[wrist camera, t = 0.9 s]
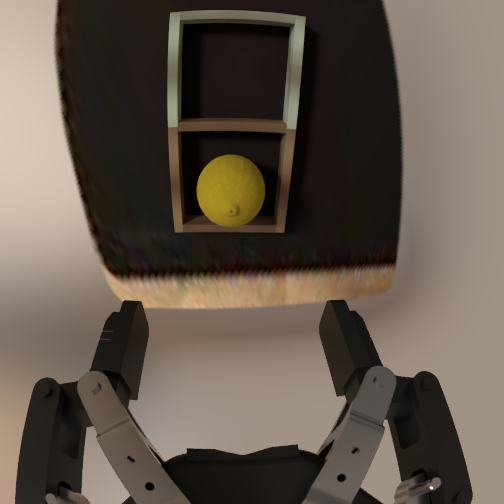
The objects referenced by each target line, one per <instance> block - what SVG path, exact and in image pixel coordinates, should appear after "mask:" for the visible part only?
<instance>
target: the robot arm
mask: <svg viewBox="0 0 504 504" xmlns="http://www.w3.org/2000/svg"><path fill="white" fill-rule="evenodd" d="M319 334H320V338H321V342H322V345H323V349H324V352H325V355H326V359H327V363H328V366H329V370H330V373H331V377H332V380H333V384H334V388H335V392H336V395H337V397H338V396H343V395H345V397H346V403H345V404H344V406H343V409H342V410H341V412H340V414H339V417H338V418H337V420H336V422H335V424H334V426H333V428H332V430H331V432H330V434H329V435H328V437H327V438H326V440H325V441H324V443H323V444H322V446H321V447H320V449H319V451H318V452H317V454H314V453H311V452H309V451H304V450H299V449H298V444H297V445H288V446H279V447H270V448H267V449H264V450H260V451H257V452H254V453H250V454H247V455H238V454H234V453H228V452H224V451H220V450H215V449H190V448H187V453H186V454H182V455H178V456H175V457H173V458H171V459H169V460H167V461H164V460H163V458H162V457H161V456H160V454H159V453H158V452H157V450H156V449H155V448H154V446H153V445H152V444H151V442H150V441H149V440H148V438H147V437H146V435H145V434H144V432H143V431H142V429H141V428H140V426H139V425H138V423H137V422H136V420H135V418H134V417H133V415H132V414H131V412H130V410H129V409H128V405H129V399H130V400H137V399H138V392H139V386H140V380H141V374H142V367H143V363H144V356H145V352H146V347H147V342H148V337H149V327H148V322H147V319H146V315H145V312H144V308H143V305H142V302H141V301H128V300H124V301H123V303H122V306H121V309H120V312H113V313H112V314H111V315H110V316H109V318H108V319H107V320H106V322H105V325H104V328H103V332H102V334H101V337H100V340H99V343H98V346H97V349H96V353H95V356H94V359H93V362H92V366H91V369H90V371H89V372H87V373H85V374H84V375H83V376H82V377H81V378H80V379H79V381H76V382H72V383H64V384H58V383H57V382H56V380H54V379H52V378H43V379H41V380H39V381H38V382H37V383H36V384H35V386H34V388H33V392H32V396H31V399H30V403H29V408H28V412H27V417H26V421H25V426H24V431H23V436H22V442H21V448H20V455H19V462H18V470H17V481H16V495H15V504H90V502H89V501H88V499H87V498H86V497H85V496H83V495H82V494H81V488H82V468H83V456H84V445H85V436H86V428H87V427H91V426H94V428H95V430H96V432H97V436H96V437H97V441H98V443H99V445H100V446H101V448H102V450H103V452H104V454H105V456H106V457H107V459H108V461H109V463H110V464H111V466H112V468H113V469H114V471H115V472H116V474H117V476H118V477H119V479H120V480H121V482H122V483H123V485H124V486H125V488H126V489H127V490H128V492H129V494H130V495H131V496H130V497H129V498H128V499H126V500H125V501H124V502H123V503H122V504H383V503H381V502H380V501H378V500H377V499H376V498H374V497H373V496H372V495H370V494H369V493H367V492H366V491H364V490H363V489H362V488H361V487H360V486H361V484H362V482H363V480H364V478H365V476H366V474H367V472H368V469H369V467H370V465H371V463H372V461H373V459H374V456H375V454H376V451H377V449H378V447H379V444H380V442H381V439H382V437H383V434H384V431H385V427H384V426H383V422H384V419H387V420H388V423H389V427H390V431H391V435H392V439H393V443H394V448H395V452H396V457H397V461H398V465H399V471H400V476H401V481H402V483H401V484H400V485H399V486H398V487H397V489H396V492H395V496H394V498H395V503H394V504H471V501H472V497H473V493H472V488H471V483H470V479H469V474H468V471H467V466H466V462H465V458H464V455H463V452H462V448H461V444H460V441H459V438H458V435H457V431H456V429H455V425H454V422H453V419H452V416H451V413H450V410H449V407H448V404H447V402H446V399H445V396H444V394H443V391H442V388H441V386H440V383H439V381H438V379H437V378H436V376H435V375H433V374H432V373H430V372H427V371H422V372H419V373H418V374H417V375H416V376H415V377H414V378H410V377H401V376H396V375H394V373H393V372H392V371H391V370H390V369H388V368H386V367H384V366H383V365H382V363H381V361H380V358H379V356H378V353H377V351H376V348H375V346H374V343H373V341H372V339H371V337H370V334H369V332H368V330H367V327H366V325H365V322H364V321H363V318H362V317H361V316H360V315H359V314H358V313H357V312H356V311H350V310H349V308H348V305H347V303H346V301H345V300H329V301H327V302H326V305H325V309H324V312H323V315H322V318H321V321H320V324H319Z"/></svg>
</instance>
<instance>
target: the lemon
mask: <svg viewBox="0 0 504 504" xmlns="http://www.w3.org/2000/svg"><path fill="white" fill-rule="evenodd" d="M264 197H265V183H264V180H263V177H262V174H261V172H260V171H259V169H258V168H257V166H256V165H254V164H253V163H252V162H251V161H250V160H248V159H246V158H244V157H242V156H238V155H224V156H220V157H217V158H216V159H214V160H212V161H211V162H210V163H209V164H208V165H207V166H206V167H205V168H204V169H203V171H202V173H201V174H200V176H199V180H198V183H197V199H198V202H199V205H200V208H201V209H202V211H203V213H204V214H205V216H207V217H208V218H209V219H210V220H211V221H212V222H214V223H216V224H217V225H220V226H224V227H237V226H241V225H244V224H246V223H248V222H249V221H251V220H252V219H253V218H254V217H255V216H256V215H257V214H258V212H259V211H260V209H261V207H262V205H263V201H264Z"/></svg>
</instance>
